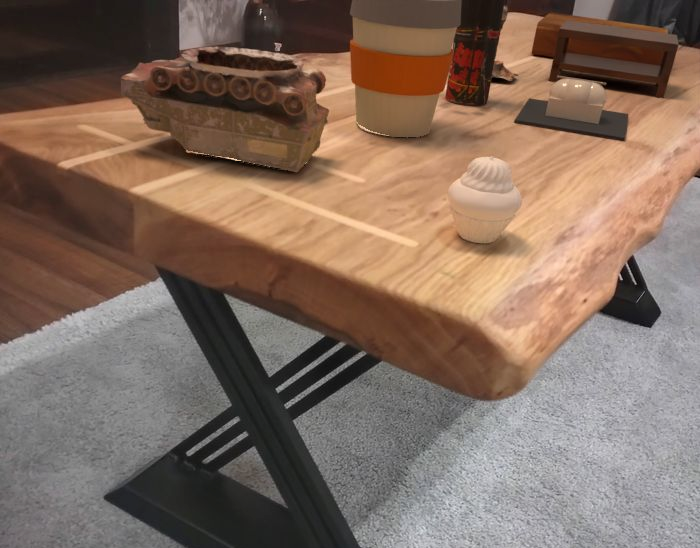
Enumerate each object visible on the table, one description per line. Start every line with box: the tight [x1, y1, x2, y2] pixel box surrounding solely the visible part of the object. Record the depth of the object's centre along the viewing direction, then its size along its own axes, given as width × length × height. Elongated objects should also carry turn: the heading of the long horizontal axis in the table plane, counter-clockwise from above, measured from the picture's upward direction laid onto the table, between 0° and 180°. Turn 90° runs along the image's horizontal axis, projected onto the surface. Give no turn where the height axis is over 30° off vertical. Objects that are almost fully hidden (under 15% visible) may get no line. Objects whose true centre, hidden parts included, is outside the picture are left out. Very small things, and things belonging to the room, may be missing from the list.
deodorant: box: [445, 0, 505, 107], centre depth 105 cm, size 6×6×15 cm
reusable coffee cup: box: [349, 0, 462, 139], centre depth 90 cm, size 13×13×15 cm
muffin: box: [447, 155, 523, 244], centre depth 64 cm, size 6×6×7 cm
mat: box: [513, 97, 629, 142], centre depth 105 cm, size 14×14×1 cm
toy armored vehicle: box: [120, 45, 330, 173], centre depth 76 cm, size 13×20×10 cm, turn 70°
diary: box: [531, 11, 669, 66], centre depth 148 cm, size 23×19×6 cm
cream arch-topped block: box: [545, 75, 607, 124], centre depth 103 cm, size 7×4×5 cm, turn 71°
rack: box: [548, 20, 680, 99], centre depth 126 cm, size 18×11×8 cm, turn 71°
